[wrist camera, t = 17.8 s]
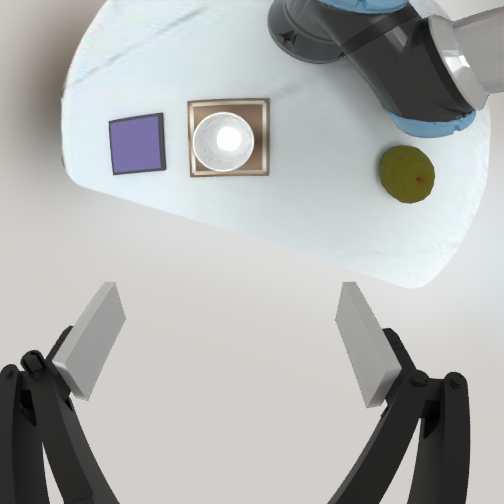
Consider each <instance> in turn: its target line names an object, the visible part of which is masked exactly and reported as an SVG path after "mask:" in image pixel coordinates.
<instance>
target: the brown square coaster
mask: <svg viewBox="0 0 504 504" xmlns="http://www.w3.org/2000/svg"><path fill="white" fill-rule="evenodd" d="M187 104H188V138H189V160H190V177H212V176H268V167H269V99H262V98H246V99H214V100H199V101H187ZM219 112H229V113H233V114H236V115H238V116H240V117H241V118H243V119H244V120H245V121H246V122H247V123H248V124H249V126H250V127H251V129H252V132H253V135H254V148H253V151H252V154H251V156H250V157H249V159H248V160H247V161H246V162H245V163H244V164H243V165H242V166H240V167H239V168H237V169H235V170H232V171H226V172H220V171H214V170H211V169H209V168H207V167H206V166H204V165H203V164H202V163H201V162H200V161H199V160H198V158H197V157H196V155H195V153H194V150H193V135H194V132H195V130H196V128H197V126H198V125H199V123H200V122H201V121H202V120H203V119H205V118H206V117H208V116H209V115H212V114H214V113H219Z"/></svg>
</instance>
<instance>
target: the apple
mask: <svg viewBox="0 0 504 504" xmlns="http://www.w3.org/2000/svg"><path fill="white" fill-rule="evenodd" d="M380 175H381V181H382V185H383V186H384V188H385V189H386V191H387V192H388V193H389V194H390V195H391V196H393V197H394V198H396V199H397V200H399V201H400V202H402V203H410V204H411V203H415V202H418V201H421V200H424V199H425V198H426V197H427V196H428V195H429V194H430V193H431V190H432V188H433V185H434V179H435V173H434V166H433V165H432V163H431V161H430V160H429V158H428V157H427V156H426V155H425V154H424V153H423V152H422V151H421V150H419V149H418V148H415V147H411V146H402V145H401V146H397V147H392V148H391V149H390V150H389V151H388V152H386V153H385V154H384V156H383V159H382V162H381V165H380Z"/></svg>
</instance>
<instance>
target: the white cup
mask: <svg viewBox="0 0 504 504" xmlns="http://www.w3.org/2000/svg"><path fill="white" fill-rule="evenodd" d="M253 148H254V135H253V132H252V129H251V127H250V126H249V124H248V123H247V122H246V121H245V120H244V119H243V118H241V117H240V116H238V115H236V114H233V113H229V112H219V113H214V114H212V115H209V116H208V117H206V118H205V119H203V120H202V121H201V122H200V123H199V125H198V126H197V128H196V130H195V132H194V135H193V150H194V153H195V155H196V157H197V158H198V160H199V161H200V162H201V163H202V164H203V165H204V166H206V167H207V168H209V169H211V170H214V171H220V172H226V171H232V170H235V169H237V168H239V167H240V166H242V165H243V164H244V163H245V162H246V161H247V160H248V159H249V157H250V156H251V154H252V151H253Z"/></svg>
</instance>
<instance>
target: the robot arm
mask: <svg viewBox="0 0 504 504" xmlns="http://www.w3.org/2000/svg"><path fill="white" fill-rule="evenodd" d="M268 28H269V32H270V34H271V36H272V38H273V40H274V41H275V42H276V44H277V45H278V46H279V47H280V48H281V49H282V50H283V51H285V52H286V53H287V54H289V55H291V56H293V57H294V58H297V59H299V60H302V61H305V62H310V63H329V62H333V61H336V60H338V59H340V58H342V57H343V56H345V55H346V56H347V58H348V59H349V60H350V61H351V63H352V64H353V65H354V66H355V68H356V69H357V70H358V71H359V73H360V74H361V75H362V77H363V78H364V79H365V81H366V82H367V83H368V85H369V86H370V87H371V89H372V90H373V92H374V93H375V95H376V96H377V97H378V99H379V100H380V103H381V106H382V107H383V109H384V110H385V111H386V112H387V113H388V114H389V115H390V116H391V118H392V119H393V121H394V122H395V124H396V125H397V126H398V127H399V128H400V129H401V130H402V131H403V132H405V133H406V134H409V135H411V136H415V137H420V138H436V137H443V136H447V135H451V134H453V132H454V131H456V130H458V131H461V130H463V129H465V128H466V127H468V126H469V125H470V124H471V123H472V122H473V120H474V118H475V115H476V110H481V109H483V108H484V105H485V103H486V100H487V98H488V96H489V95H490V94H493V93H499V92H504V6H503V7H499V8H495V9H492V10H488V11H485V12H482V13H478V14H475V15H472V16H469V17H466V18H463V19H460V20H457V21H450V20H448V19H445V18H443V17H441V16H438V15H431V16H429V17H427V18H424V19H422V18H421V16H420V15H419V14H418V13H417V11H416V10H415V9H414V8H413V6H412V5H411V4H410V3H409V1H408V0H275V1H274V2H273V3H272V5H271V7H270V10H269V14H268ZM125 319H126V317H125V314H124V311H123V308H122V304H121V301H120V298H119V294H118V291H117V287H116V283H115V282H104V283H103V285H102V286H101V287H100V289H99V290H98V292H97V293H96V294H95V296H94V297H93V299H92V300H91V301H90V303H89V305H88V306H87V307H86V309H85V310H84V311H83V313H82V314H81V316H80V317H79V319H78V321H77V322H76V324H75V325H74V326H69V327H68V328H67V329H65V330H64V331H63V332H62V334H61V335H60V337H59V339H58V340H57V341H56V344H55V345H54V346H53V348H52V349H51V351H50V353H49V354H48V356H47V357H46V359H44V358H43V356H42V354H41V352H39V351H37V350H31V351H29V352H27V353H26V354H25V355H24V356H23V357H22V359H21V365H22V367H23V368H24V370H25V371H19V369H18V368H17V366H16V365H14V364H9V365H7V366H5V367H4V368H3V369H2V371H1V373H0V504H50V502H49V497H48V491H47V485H46V478H45V471H44V460H43V448H42V442H43V446H44V449H45V452H46V455H47V458H48V461H49V464H50V467H51V470H52V473H53V476H54V478H55V481H56V483H57V486H58V488H59V490H60V493H61V495H62V498H63V500H64V504H120V503H119V502H118V501H117V498H116V497H115V495H114V493H113V492H112V490H111V488H110V487H109V485H108V483H107V481H106V479H105V477H104V475H103V474H102V472H101V470H100V468H99V466H98V464H97V462H96V460H95V458H94V455H93V453H92V451H91V449H90V447H89V444H88V442H87V440H86V437H85V435H84V433H83V430H82V428H81V425H80V423H79V420H78V417H77V415H76V412H75V409H74V406H73V403H72V401H71V399H70V397H69V395H70V392H71V391H72V393H73V394H74V395H75V397H76V398H79V399H82V400H86V401H88V400H89V398H90V395H91V393H92V390H93V388H94V385H95V383H96V381H97V379H98V377H99V374H100V372H101V370H102V368H103V365H104V363H105V361H106V359H107V357H108V355H109V352H110V350H111V348H112V346H113V344H114V342H115V340H116V338H117V336H118V334H119V332H120V330H121V328H122V326H123V324H124V321H125ZM335 321H336V323H337V326H338V328H339V331H340V334H341V337H342V339H343V342H344V344H345V347H346V350H347V353H348V355H349V358H350V361H351V364H352V367H353V370H354V373H355V375H356V378H357V381H358V384H359V387H360V390H361V393H362V396H363V399H364V402H365V405H366V408H371V407H376V406H381V405H382V403H383V401H384V399H386V402H387V404H388V405H387V407H386V408H385V410H384V412H383V413H382V415H381V419H380V421H379V423H378V424H377V426H376V428H375V430H374V432H373V434H372V436H371V437H370V439H369V441H368V443H367V444H366V446H365V448H364V450H363V451H362V453H361V455H360V456H359V458H358V460H357V461H356V463H355V464H354V466H353V468H352V469H351V471H350V472H349V474H348V475H347V477H346V478H345V480H344V481H343V483H342V484H341V486H340V487H339V488H338V490H337V491H336V493H335V494H334V495H333V497H332V498H331V499H330V501H329V502H328V504H379V502H380V501H381V499H382V498H383V495H384V494H385V492H386V490H387V489H388V486H389V485H390V483H391V481H392V479H393V477H394V475H395V473H396V471H397V469H398V467H399V465H400V463H401V461H402V459H403V457H404V455H405V452H406V450H407V448H408V445H409V443H410V441H411V438H412V436H413V433H414V431H415V428H416V425H417V423H418V420H419V418H421V425H420V435H419V443H418V451H417V457H416V463H415V470H414V475H413V480H412V485H411V489H410V494H409V498H408V502H407V504H465V503H466V496H467V488H468V478H469V465H470V410H469V397H468V385H467V381H466V379H465V378H464V376H463V375H461V374H460V373H457V372H450V373H448V374H447V375H446V376H445V378H444V379H433V378H429V376H428V375H427V374H426V373H424V372H423V371H420V370H417V369H416V367H415V365H414V363H413V362H412V360H411V358H410V356H409V354H408V352H407V350H406V349H405V347H404V345H403V343H401V340H400V338H399V336H398V334H396V332H394V331H393V330H392V329H391V328H386V329H381V327H380V325H379V323H378V321H377V319H376V317H375V316H374V314H373V312H372V310H371V308H370V307H369V305H368V303H367V301H366V299H365V298H364V296H363V294H362V293H361V291H360V289H359V287H358V286H357V284H356V282H343V285H342V290H341V295H340V300H339V305H338V310H337V314H336V319H335Z"/></svg>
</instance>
